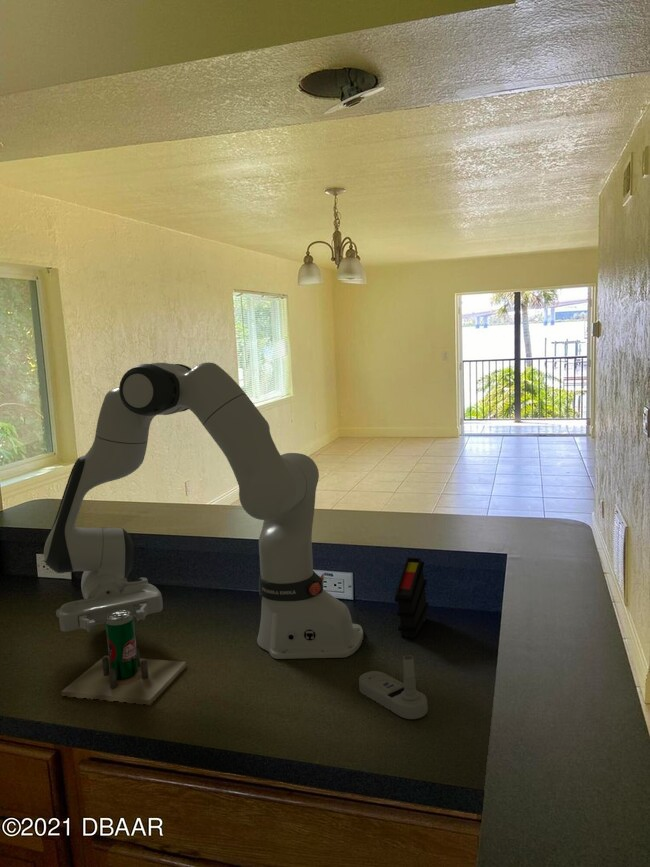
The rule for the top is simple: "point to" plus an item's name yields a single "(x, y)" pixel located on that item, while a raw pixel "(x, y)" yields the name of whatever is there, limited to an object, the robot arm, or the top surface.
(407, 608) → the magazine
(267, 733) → the top surface
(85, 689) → the can tray
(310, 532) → the robot arm
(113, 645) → the soda can
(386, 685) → the electronic device
